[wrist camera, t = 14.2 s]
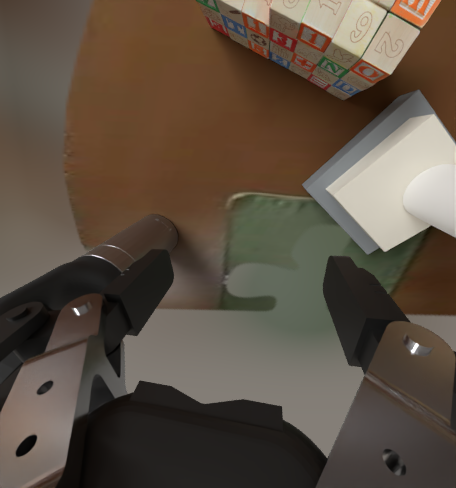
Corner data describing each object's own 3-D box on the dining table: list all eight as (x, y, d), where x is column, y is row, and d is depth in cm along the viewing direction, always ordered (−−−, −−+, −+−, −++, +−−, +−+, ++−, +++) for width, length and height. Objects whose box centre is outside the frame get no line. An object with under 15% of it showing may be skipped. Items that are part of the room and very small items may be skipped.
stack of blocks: (209, 29, 27) (169, -47, 16) (227, -39, 24) (193, -190, 13) (344, 101, 28) (392, 76, 17) (378, 45, 24) (464, -30, 14)
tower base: (358, 244, 37) (379, 268, 30) (301, 184, 34) (310, 195, 27) (459, 179, 29) (519, 191, 22) (399, 96, 26) (446, 80, 19)
